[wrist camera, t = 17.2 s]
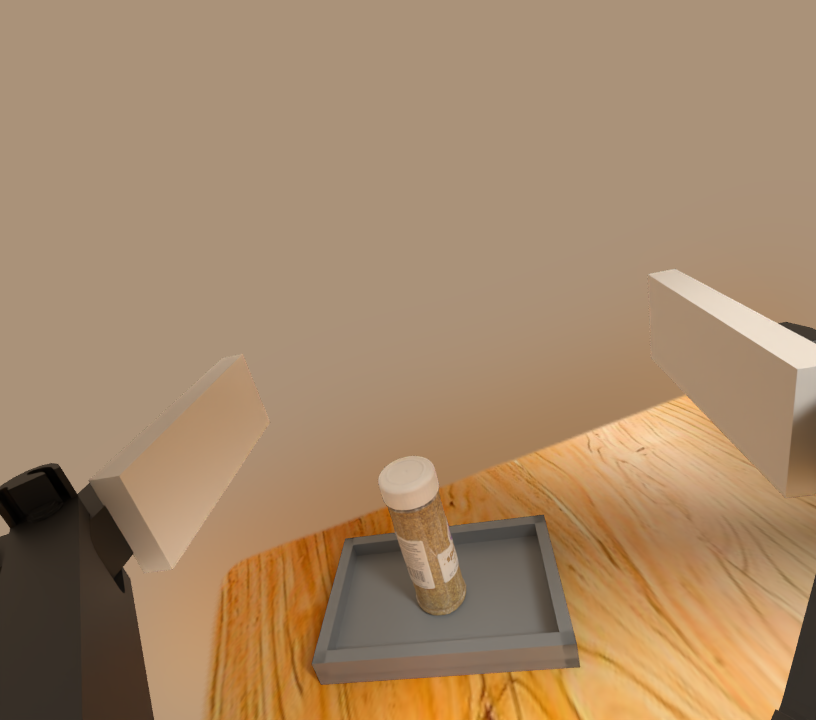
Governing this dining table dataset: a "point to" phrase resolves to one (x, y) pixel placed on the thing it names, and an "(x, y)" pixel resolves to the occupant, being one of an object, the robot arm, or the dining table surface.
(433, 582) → the sprinkles bottle
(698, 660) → the dining table surface
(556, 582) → the tray
